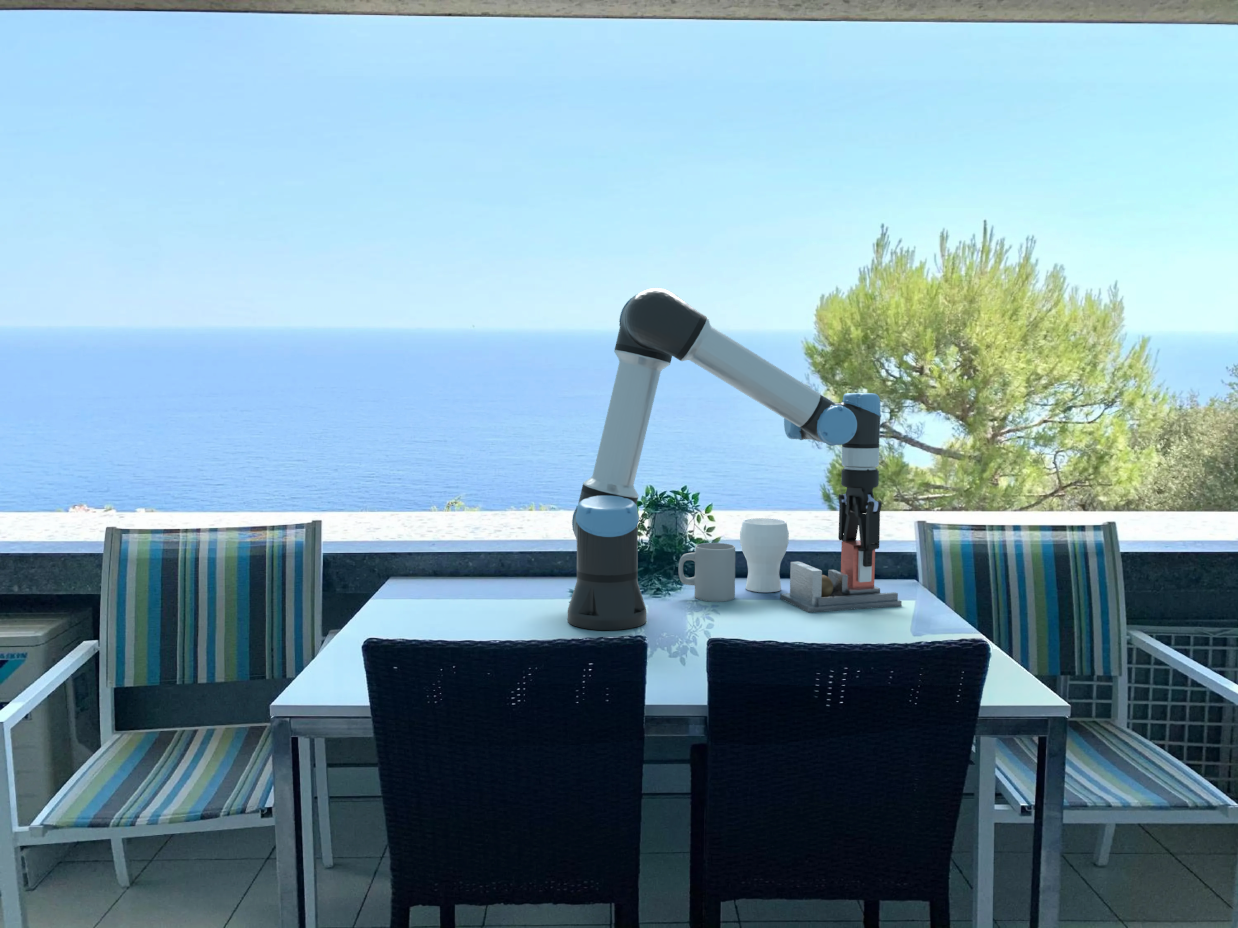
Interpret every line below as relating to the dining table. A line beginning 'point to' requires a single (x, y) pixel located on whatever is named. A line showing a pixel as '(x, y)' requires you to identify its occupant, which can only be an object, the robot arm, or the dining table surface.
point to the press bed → (809, 595)
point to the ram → (851, 573)
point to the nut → (826, 586)
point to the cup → (764, 552)
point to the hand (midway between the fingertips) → (857, 578)
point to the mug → (711, 571)
